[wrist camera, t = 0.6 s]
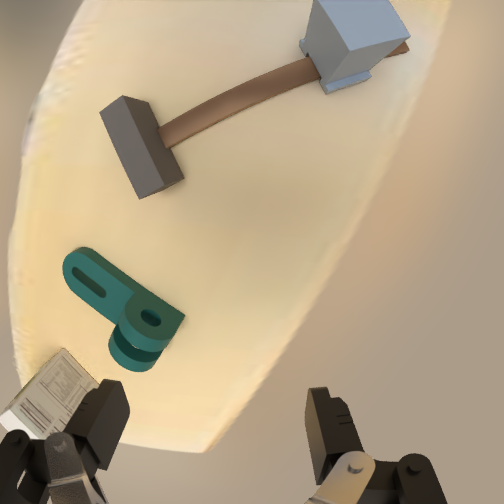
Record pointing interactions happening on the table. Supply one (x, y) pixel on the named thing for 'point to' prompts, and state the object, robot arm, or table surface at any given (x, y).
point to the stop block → (140, 146)
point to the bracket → (123, 309)
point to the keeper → (350, 39)
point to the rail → (244, 98)
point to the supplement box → (49, 398)
